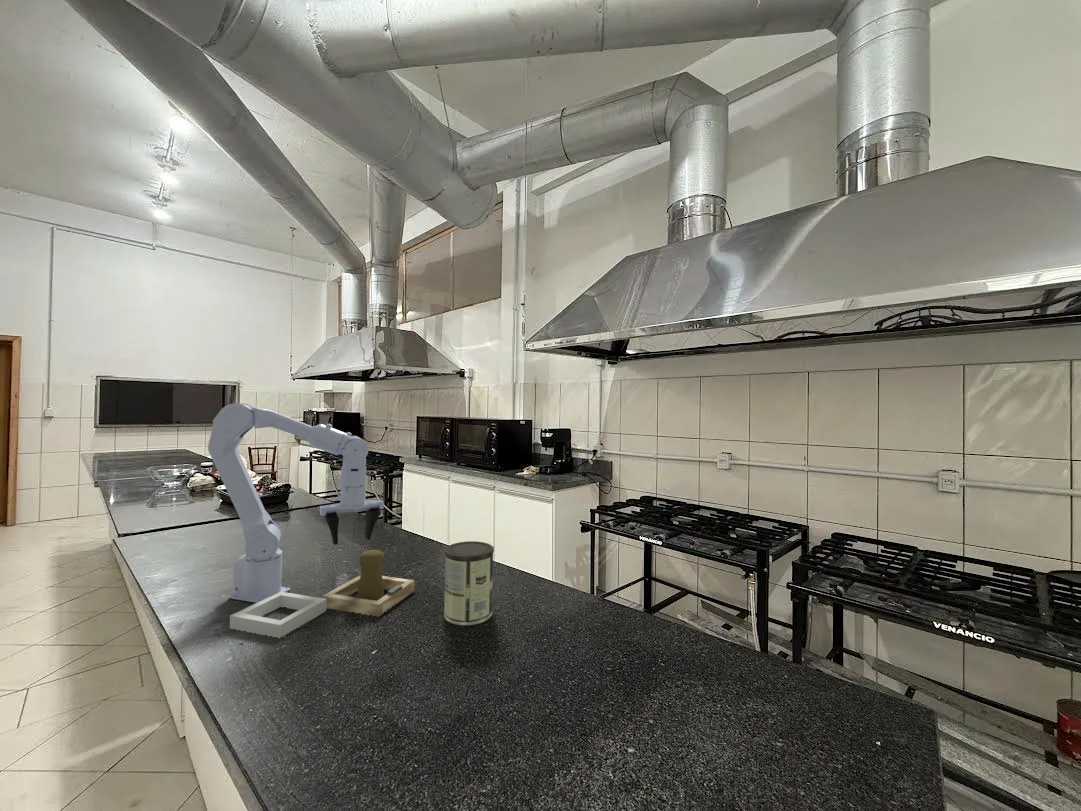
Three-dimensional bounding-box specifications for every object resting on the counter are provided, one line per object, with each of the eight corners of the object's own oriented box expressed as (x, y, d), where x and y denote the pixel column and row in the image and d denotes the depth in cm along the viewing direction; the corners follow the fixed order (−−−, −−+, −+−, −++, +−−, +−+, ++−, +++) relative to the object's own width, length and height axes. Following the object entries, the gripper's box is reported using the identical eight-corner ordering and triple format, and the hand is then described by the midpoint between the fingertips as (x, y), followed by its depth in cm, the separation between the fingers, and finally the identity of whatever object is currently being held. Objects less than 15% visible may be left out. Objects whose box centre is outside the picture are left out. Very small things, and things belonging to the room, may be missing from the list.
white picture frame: (229, 628, 86) (230, 615, 86) (280, 602, 98) (280, 591, 98) (279, 638, 83) (280, 624, 83) (326, 610, 95) (326, 598, 95)
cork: (376, 606, 97) (377, 556, 97) (350, 604, 98) (352, 554, 98) (389, 595, 103) (390, 547, 103) (364, 593, 104) (366, 546, 104)
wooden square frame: (322, 607, 96) (322, 593, 96) (363, 583, 110) (364, 570, 110) (378, 616, 93) (378, 602, 93) (414, 590, 106) (414, 577, 106)
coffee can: (461, 600, 102) (463, 538, 102) (500, 609, 97) (502, 545, 98) (432, 618, 92) (434, 550, 93) (474, 630, 88) (476, 559, 88)
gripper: (324, 491, 102) (323, 550, 102) (388, 485, 111) (386, 540, 111) (318, 486, 108) (316, 542, 108) (379, 481, 117) (377, 533, 116)
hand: (351, 541), depth 110 cm, fingers open, 7 cm apart
